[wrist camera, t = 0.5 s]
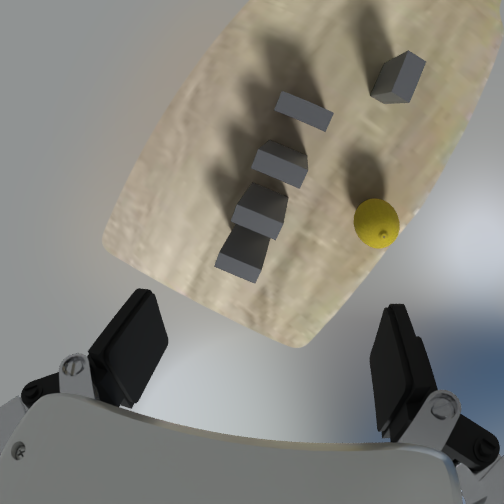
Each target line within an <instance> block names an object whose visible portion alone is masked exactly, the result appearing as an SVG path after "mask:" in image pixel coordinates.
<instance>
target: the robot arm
mask: <svg viewBox="0 0 504 504" xmlns="http://www.w3.org/2000/svg"><path fill="white" fill-rule="evenodd" d="M167 346H168V337H167V333H166V330H165V327H164V324H163V320H162V317H161V314H160V311H159V307H158V304H157V300H156V297H155V294H153V293H152V292H151V290H148V289H140V288H139V289H137V290H135V292H134V293H133V294H132V295H131V296H130V298H129V299H128V300H127V301H126V303H125V304H124V305H123V306H122V308H121V309H120V310H119V311H118V313H117V314H116V315H115V316H114V318H113V319H112V320H111V322H110V323H109V324H108V325H107V327H106V328H105V329H104V331H103V332H102V333H101V335H100V336H99V337H98V338H97V340H96V341H95V342H94V344H93V345H92V347H91V348H90V349H89V351H88V352H89V355H88V356H87V357H86V356H85V355H83V354H79V353H76V354H72V355H70V356H68V357H66V358H65V359H64V360H63V361H62V363H61V365H60V368H59V372H58V373H55V374H52V375H49V376H46V377H43V378H41V379H37V380H34V381H32V382H30V383H28V384H27V385H26V386H25V387H24V388H23V390H22V393H21V398H20V397H19V396H16V397H15V398H13V399H12V400H10V401H9V402H7V403H6V404H4V405H3V406H1V407H0V504H463V502H462V496H463V497H464V499H465V501H466V504H504V455H503V456H502V457H501V456H500V454H499V450H500V446H499V442H498V440H497V438H496V437H495V436H494V435H493V434H492V433H490V432H488V431H487V430H485V429H484V428H482V427H481V426H479V425H478V424H476V423H474V422H473V421H471V420H470V419H468V418H467V417H465V416H463V415H462V414H460V413H461V404H460V401H459V399H458V398H457V396H456V395H454V394H453V393H452V392H449V391H447V390H438V389H437V386H436V382H435V379H434V375H433V372H432V369H431V365H430V362H429V359H428V356H427V353H426V351H425V347H424V344H423V342H422V339H421V338H420V337H419V336H418V337H416V335H415V333H414V330H413V327H412V324H411V321H410V318H409V316H408V313H407V310H406V308H405V305H404V304H390V305H389V307H388V308H384V311H383V315H382V318H381V322H380V325H379V328H378V332H377V335H376V338H375V342H374V345H373V348H372V351H371V355H370V368H371V375H372V383H373V390H374V399H375V408H376V419H377V429H378V431H379V432H380V431H382V438H390V439H391V442H385V443H303V442H287V441H275V440H265V439H256V438H248V437H241V436H234V435H228V434H221V433H216V432H211V431H206V430H201V429H196V428H192V427H187V426H182V425H178V424H174V423H170V422H166V421H163V420H159V419H155V418H151V417H148V416H145V415H141V414H138V413H135V412H132V411H129V410H125V409H122V408H119V406H120V404H121V405H122V406H125V407H128V408H132V407H133V405H134V403H137V402H138V401H139V399H140V397H141V395H142V393H143V391H144V389H145V387H146V385H147V383H148V382H149V380H150V378H151V376H152V374H153V372H154V370H155V368H156V366H157V365H158V363H159V361H160V359H161V357H162V355H163V353H164V351H165V350H166V348H167ZM461 490H462V492H461Z"/></svg>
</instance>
